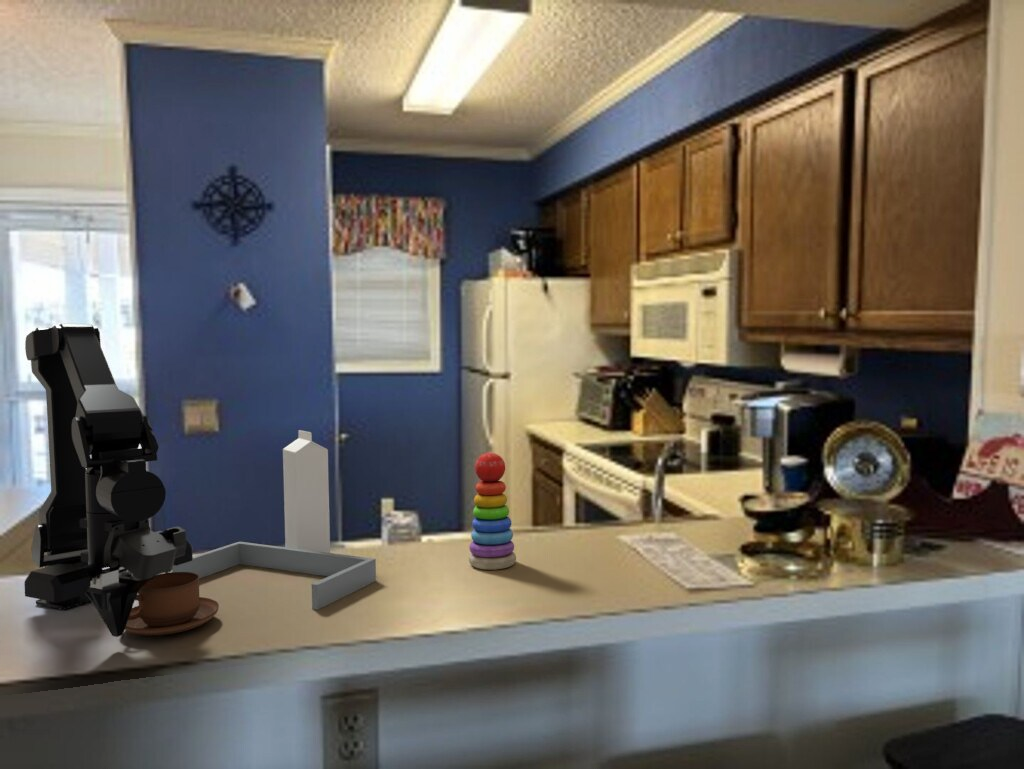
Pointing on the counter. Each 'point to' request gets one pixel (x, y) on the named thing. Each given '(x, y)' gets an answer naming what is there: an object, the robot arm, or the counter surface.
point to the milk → (306, 495)
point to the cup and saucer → (170, 605)
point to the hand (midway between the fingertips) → (117, 635)
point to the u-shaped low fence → (291, 567)
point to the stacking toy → (491, 517)
